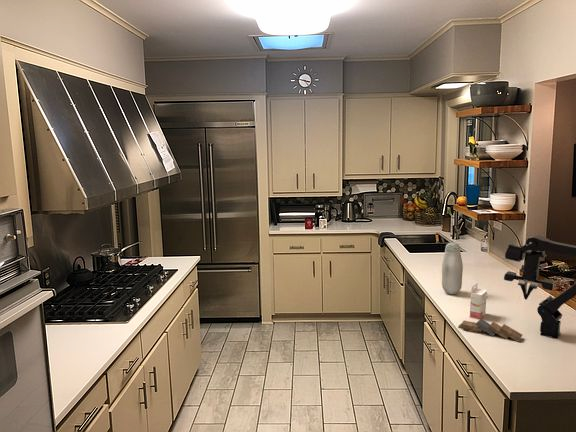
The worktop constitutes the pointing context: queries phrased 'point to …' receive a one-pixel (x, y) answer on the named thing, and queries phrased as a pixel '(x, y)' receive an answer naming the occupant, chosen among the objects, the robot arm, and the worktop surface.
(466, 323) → the domino
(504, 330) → the domino
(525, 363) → the worktop surface
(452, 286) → the gray bottle
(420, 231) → the worktop surface
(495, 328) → the domino
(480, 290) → the ink cartridge box
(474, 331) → the domino
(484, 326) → the gray domino
